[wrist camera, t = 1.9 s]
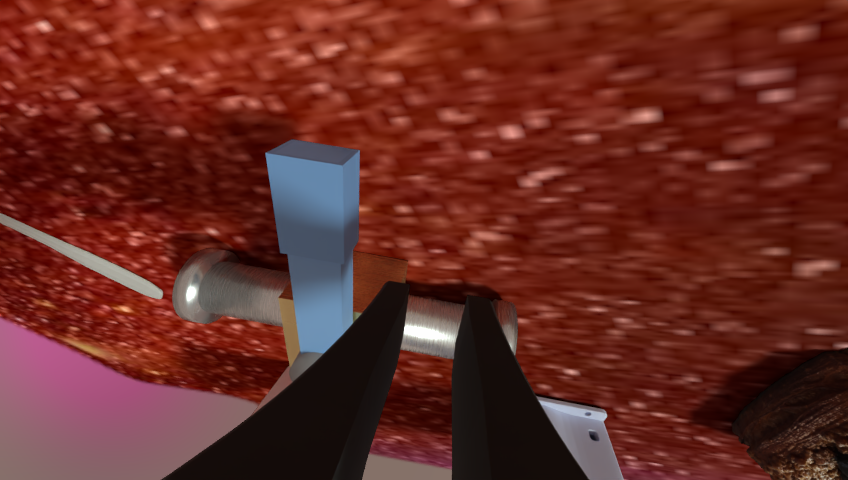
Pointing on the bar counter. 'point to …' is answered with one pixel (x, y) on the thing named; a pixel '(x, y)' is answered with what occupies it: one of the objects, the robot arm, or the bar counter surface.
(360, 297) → the valve pipe
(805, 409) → the pastry
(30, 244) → the bar counter surface
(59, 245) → the butter knife
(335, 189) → the lever
